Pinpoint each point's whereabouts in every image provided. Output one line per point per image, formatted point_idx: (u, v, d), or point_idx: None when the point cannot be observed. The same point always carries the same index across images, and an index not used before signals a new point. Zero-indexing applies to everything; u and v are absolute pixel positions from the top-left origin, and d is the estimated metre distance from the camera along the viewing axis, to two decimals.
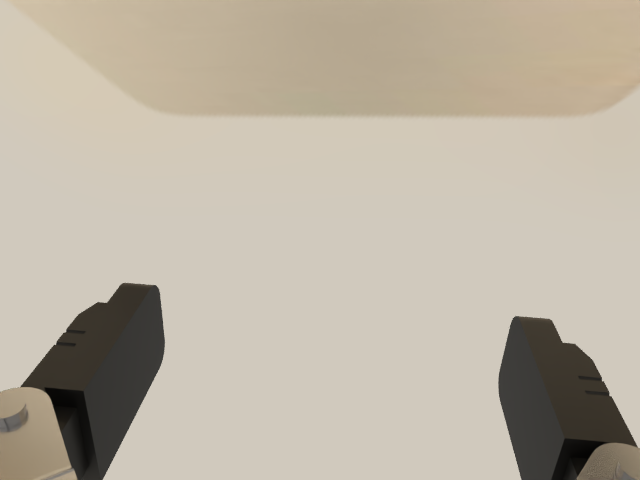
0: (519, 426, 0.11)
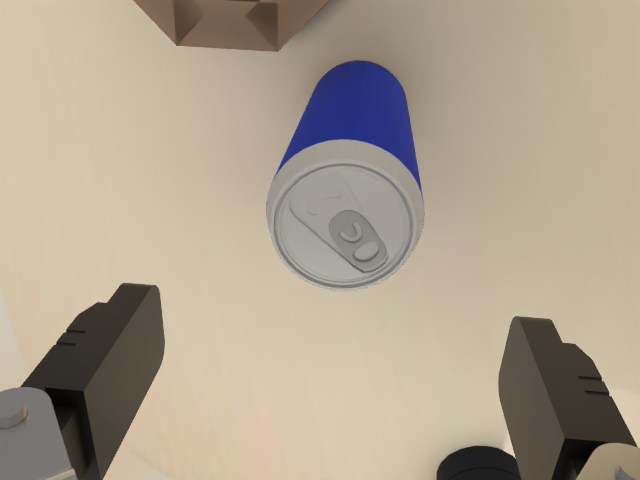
0: (519, 426, 0.11)
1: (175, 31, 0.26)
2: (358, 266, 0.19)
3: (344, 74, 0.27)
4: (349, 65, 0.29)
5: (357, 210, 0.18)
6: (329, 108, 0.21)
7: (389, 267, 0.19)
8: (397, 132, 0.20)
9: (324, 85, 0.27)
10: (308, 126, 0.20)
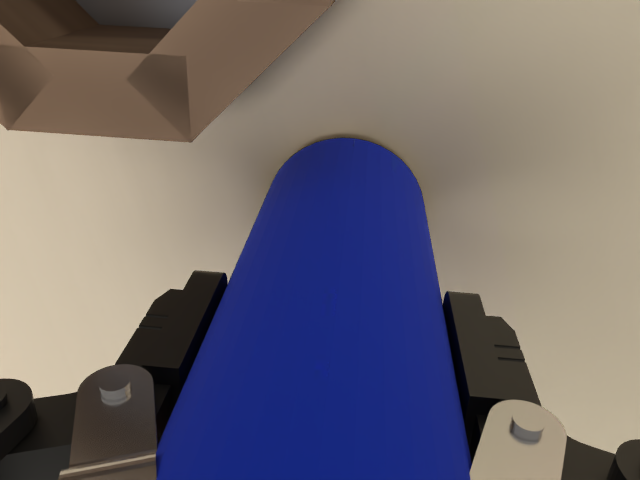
0: None
1: (2, 105, 0.14)
2: None
3: (317, 175, 0.15)
4: (328, 149, 0.17)
5: None
6: (271, 305, 0.10)
7: None
8: (425, 386, 0.09)
9: (281, 196, 0.15)
10: (216, 370, 0.09)
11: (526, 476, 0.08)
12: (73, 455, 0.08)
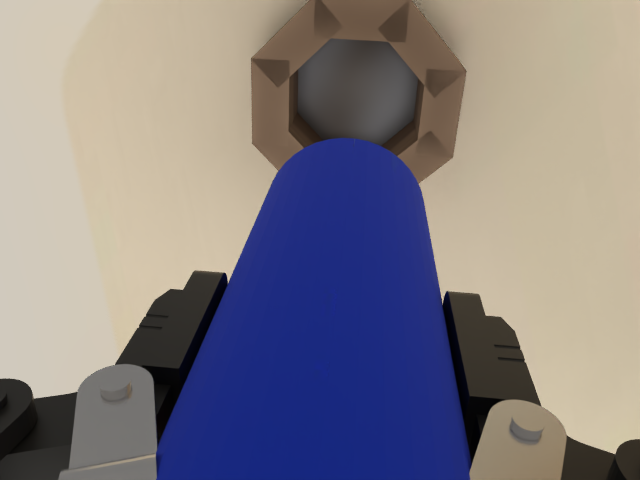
0: None
1: None
2: None
3: (317, 175, 0.15)
4: (328, 149, 0.17)
5: None
6: (271, 305, 0.10)
7: None
8: (425, 386, 0.09)
9: (281, 196, 0.15)
10: (216, 370, 0.09)
11: (526, 476, 0.08)
12: (73, 455, 0.08)
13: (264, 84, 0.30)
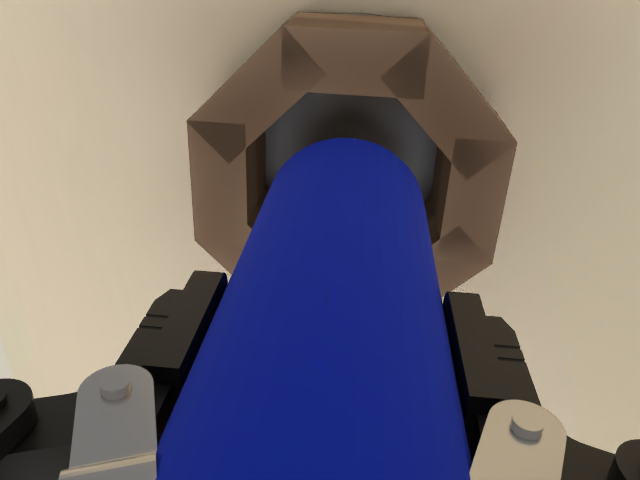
0: None
1: None
2: None
3: (317, 175, 0.15)
4: (328, 149, 0.17)
5: None
6: (271, 305, 0.10)
7: None
8: (425, 386, 0.09)
9: (281, 196, 0.15)
10: (216, 370, 0.09)
11: (526, 476, 0.08)
12: (73, 455, 0.08)
13: (208, 158, 0.20)
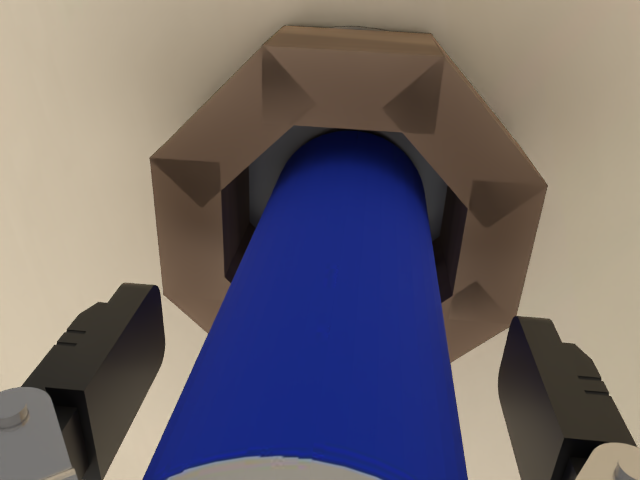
0: (519, 426, 0.11)
1: None
2: None
3: (322, 165, 0.16)
4: (333, 141, 0.18)
5: None
6: (279, 279, 0.11)
7: None
8: (415, 349, 0.10)
9: (288, 185, 0.16)
10: (229, 335, 0.10)
11: None
12: None
13: (176, 202, 0.17)
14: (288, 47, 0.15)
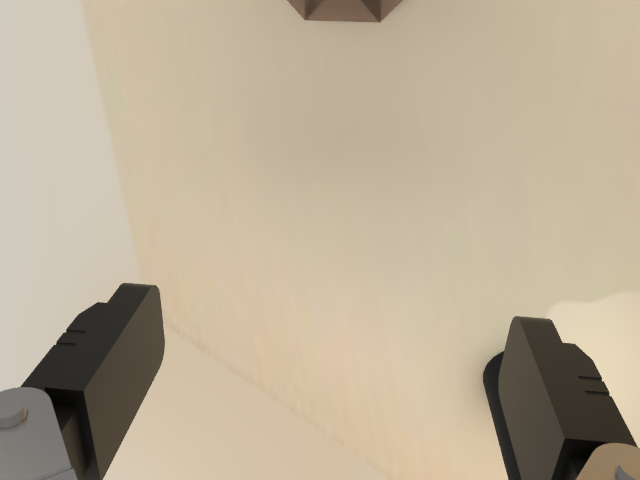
0: (519, 426, 0.11)
1: (305, 9, 0.35)
2: None
3: None
4: None
5: None
6: None
7: None
8: None
9: None
10: None
11: None
12: None
13: None
14: None
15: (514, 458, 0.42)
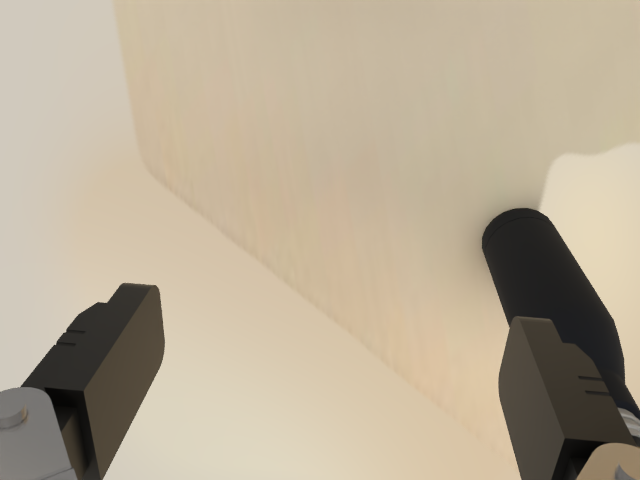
0: (519, 426, 0.11)
1: None
2: None
3: None
4: None
5: None
6: None
7: None
8: None
9: None
10: None
11: None
12: None
13: None
14: None
15: (512, 292, 0.41)
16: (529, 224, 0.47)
